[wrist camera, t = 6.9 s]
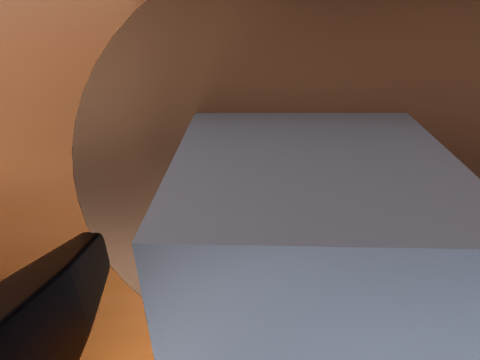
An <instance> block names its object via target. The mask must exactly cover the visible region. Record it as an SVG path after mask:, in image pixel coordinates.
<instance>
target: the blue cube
mask: <svg viewBox="0 0 480 360" xmlns="http://www.w3.org/2000/svg"><path fill="white" fill-rule="evenodd" d="M132 248H133V253H134V258H135V263H136V268H137V273H138V278H139V284H140V289H141V294H142V299H143V304H144V309H145V314H146V319H147V324H148V329H149V334H150V339H151V344H152V349H153V355H154V360H480V179H479V178H478V177H477V176H476V175H475V174H474V173H473V172H472V171H471V170H470V169H468V168H467V167H466V166H465V165H464V164H463V163H462V162H461V161H460V160H459V159H457V158H456V157H455V156H454V155H453V154H452V153H451V152H450V151H449V150H448V149H446V148H445V147H444V146H443V145H442V144H441V143H440V142H439V141H438V140H437V139H435V138H434V137H433V136H432V135H431V134H430V133H429V132H428V131H427V130H426V129H424V128H423V127H422V126H421V125H420V124H419V123H418V122H417V121H416V120H415V119H413V118H412V117H411V116H410V115H409V114H408V113H195V114H194V116H193V118H192V120H191V122H190V124H189V127H188V129H187V131H186V133H185V135H184V137H183V139H182V141H181V143H180V145H179V147H178V149H177V151H176V153H175V155H174V157H173V159H172V161H171V164H170V166H169V168H168V170H167V172H166V174H165V176H164V178H163V180H162V182H161V184H160V186H159V188H158V190H157V192H156V194H155V196H154V198H153V200H152V203H151V205H150V207H149V209H148V211H147V213H146V215H145V217H144V219H143V221H142V223H141V225H140V227H139V229H138V231H137V233H136V235H135V237H134V239H133V242H132Z"/></svg>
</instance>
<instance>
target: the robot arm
mask: <svg viewBox="0 0 480 360" xmlns="http://www.w3.org/2000/svg"><path fill="white" fill-rule="evenodd" d="M109 268H110V261H109V257H108V253H107V248H106V244H105V240H104V237H103V235H102V234H101V233H93V232H84V233H81V234H79V235H78V236H76V237H74V238H73V239H71V240H69V241H68V242H66V243H64V244H63V245H61V246H59V247H58V248H56V249H54V250H52V251H51V252H49V253H47V254H46V255H44V256H42V257H41V258H39V259H37V260H36V261H34V262H32V263H31V264H29V265H27V266H25V267H24V268H22V269H20V270H19V271H17V272H15V273H14V274H12V275H10V276H9V277H7V278H5V279H4V280H2V281H0V360H79V359H80V357H81V354H82V352H83V350H84V347H85V345H86V342H87V340H88V337H89V335H90V332H91V329H92V326H93V323H94V320H95V316H96V313H97V310H98V306H99V303H100V300H101V296H102V293H103V290H104V286H105V283H106V280H107V276H108V273H109Z"/></svg>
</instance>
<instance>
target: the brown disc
mask: <svg viewBox="0 0 480 360" xmlns="http://www.w3.org/2000/svg"><path fill="white" fill-rule="evenodd" d="M195 113H408V114H409V115H410V116H411V117H412V118H413V119H415V120H416V121H417V122H418V123H419V124H420V125H421V126H422V127H423V128H424V129H426V130H427V131H428V132H429V133H430V134H431V135H432V136H433V137H434V138H435V139H437V140H438V141H439V142H440V143H441V144H442V145H443V146H444V147H445V148H446V149H448V150H449V151H450V152H451V153H452V154H453V155H454V156H455V157H456V158H457V159H459V160H460V161H461V162H462V163H463V164H464V165H465V166H466V167H467V168H468V169H470V170H471V171H472V172H473V173H474V174H475V175H476V176H477V177H478V178H479V179H480V0H147V1H146V2H145V3H144V4H143V5H142V6H140V7H139V8H138V9H137V10H136V11H135V12H134V13H133V14H132V15H131V16H130V17H129V18H128V20H127V21H126V22H125V23H124V24H123V25H122V27H121V28H120V29H119V30H118V31H117V32H116V34H115V35H114V36H113V37H112V38H111V40H110V41H109V43H108V45H107V46H106V48H105V49H104V51H103V53H102V54H101V56H100V57H99V59H98V61H97V62H96V64H95V65H94V68H93V70H92V72H91V75H90V77H89V79H88V82H87V84H86V86H85V89H84V91H83V93H82V97H81V101H80V105H79V108H78V112H77V116H76V120H75V127H74V136H73V146H72V157H73V177H74V182H75V187H76V192H77V197H78V202H79V205H80V208H81V210H82V213H83V216H84V219H85V222H86V225H87V227H88V229H89V231H90V232H93V233H101V234H102V235H103V237H104V240H105V244H106V248H107V253H108V257H109V261H110V265H111V267H112V268H113V269H114V270H115V271H116V272H117V274H118V275H119V276H120V277H121V278H122V279H123V281H124V282H125V283H126V284H127V285H129V286H130V287H131V288H132V289H133V290H134V291H135V292H136V293H137V294H138V295H139V296H140V297H142V294H141V289H140V284H139V278H138V273H137V268H136V263H135V258H134V253H133V248H132V242H133V239H134V237H135V235H136V233H137V231H138V229H139V227H140V225H141V223H142V221H143V219H144V217H145V215H146V213H147V211H148V209H149V207H150V205H151V203H152V200H153V198H154V196H155V194H156V192H157V190H158V188H159V186H160V184H161V182H162V180H163V178H164V176H165V174H166V172H167V170H168V168H169V166H170V164H171V161H172V159H173V157H174V155H175V153H176V151H177V149H178V147H179V145H180V143H181V141H182V139H183V137H184V135H185V133H186V131H187V129H188V127H189V124H190V122H191V120H192V118H193V116H194V114H195Z"/></svg>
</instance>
